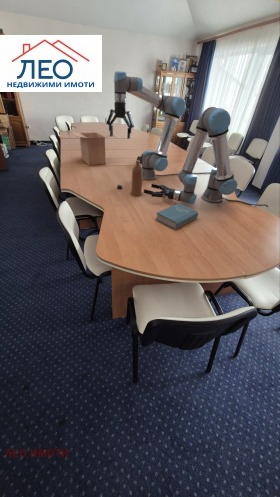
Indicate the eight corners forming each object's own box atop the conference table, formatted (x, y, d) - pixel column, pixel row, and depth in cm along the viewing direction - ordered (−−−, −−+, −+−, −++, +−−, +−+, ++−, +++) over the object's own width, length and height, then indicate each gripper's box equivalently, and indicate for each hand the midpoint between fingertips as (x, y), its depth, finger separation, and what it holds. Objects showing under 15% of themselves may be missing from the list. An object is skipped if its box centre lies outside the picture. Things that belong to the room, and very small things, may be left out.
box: (116, 165, 229) (116, 136, 213) (83, 168, 214) (80, 137, 198) (102, 154, 259) (101, 128, 243) (71, 156, 244) (68, 129, 228)
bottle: (129, 194, 172) (130, 160, 157) (134, 191, 177) (136, 158, 162) (137, 196, 168) (139, 162, 153) (143, 193, 174) (145, 160, 159)
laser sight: (156, 165, 238) (157, 155, 232) (135, 163, 241) (136, 153, 235) (157, 163, 245) (158, 153, 240) (137, 160, 248) (138, 151, 242)
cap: (120, 189, 178) (120, 186, 177) (116, 188, 179) (116, 186, 177) (122, 188, 181) (122, 185, 180) (118, 187, 182) (118, 184, 180)
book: (177, 209, 154) (178, 203, 151) (197, 218, 145) (198, 211, 142) (156, 219, 141) (156, 212, 138) (175, 230, 132) (177, 222, 129)
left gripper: (100, 100, 145) (101, 135, 158) (135, 103, 139) (133, 140, 151) (106, 99, 151) (107, 134, 164) (139, 103, 144) (138, 138, 157)
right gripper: (167, 205, 152) (140, 198, 159) (178, 193, 171) (153, 187, 178) (169, 195, 148) (141, 188, 155) (180, 184, 166) (154, 178, 173)
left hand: (119, 137), depth 157 cm, fingers open, 13 cm apart
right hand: (147, 188), depth 166 cm, fingers open, 13 cm apart
